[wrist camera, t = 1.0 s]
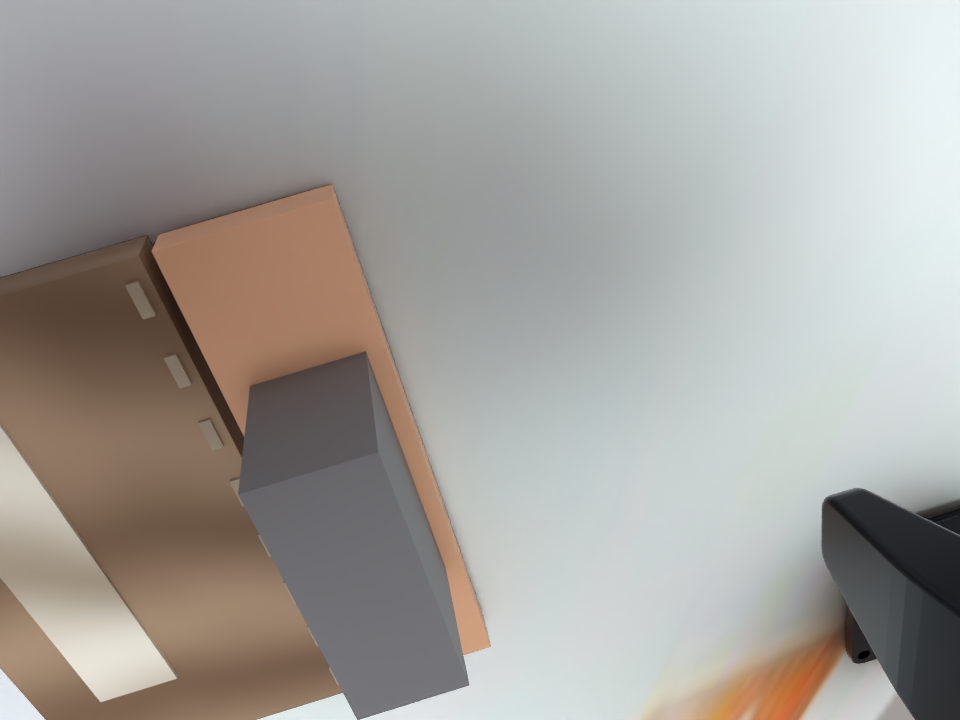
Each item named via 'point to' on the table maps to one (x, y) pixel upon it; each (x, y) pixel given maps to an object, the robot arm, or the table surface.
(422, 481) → the stub
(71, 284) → the brown flat board
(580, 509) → the table surface
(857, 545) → the robot arm
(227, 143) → the table surface
